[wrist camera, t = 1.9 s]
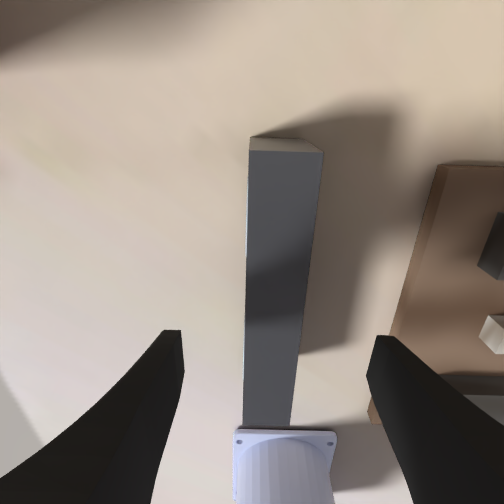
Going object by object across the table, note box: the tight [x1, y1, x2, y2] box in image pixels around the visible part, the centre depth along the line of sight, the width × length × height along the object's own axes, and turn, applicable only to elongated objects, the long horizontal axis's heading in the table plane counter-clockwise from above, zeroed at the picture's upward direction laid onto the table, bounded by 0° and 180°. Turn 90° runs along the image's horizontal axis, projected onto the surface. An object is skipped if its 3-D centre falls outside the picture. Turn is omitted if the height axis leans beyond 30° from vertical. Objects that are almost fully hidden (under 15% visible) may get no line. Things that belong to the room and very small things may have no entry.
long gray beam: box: [243, 137, 324, 426], centre depth 15 cm, size 14×3×5 cm, turn 178°
